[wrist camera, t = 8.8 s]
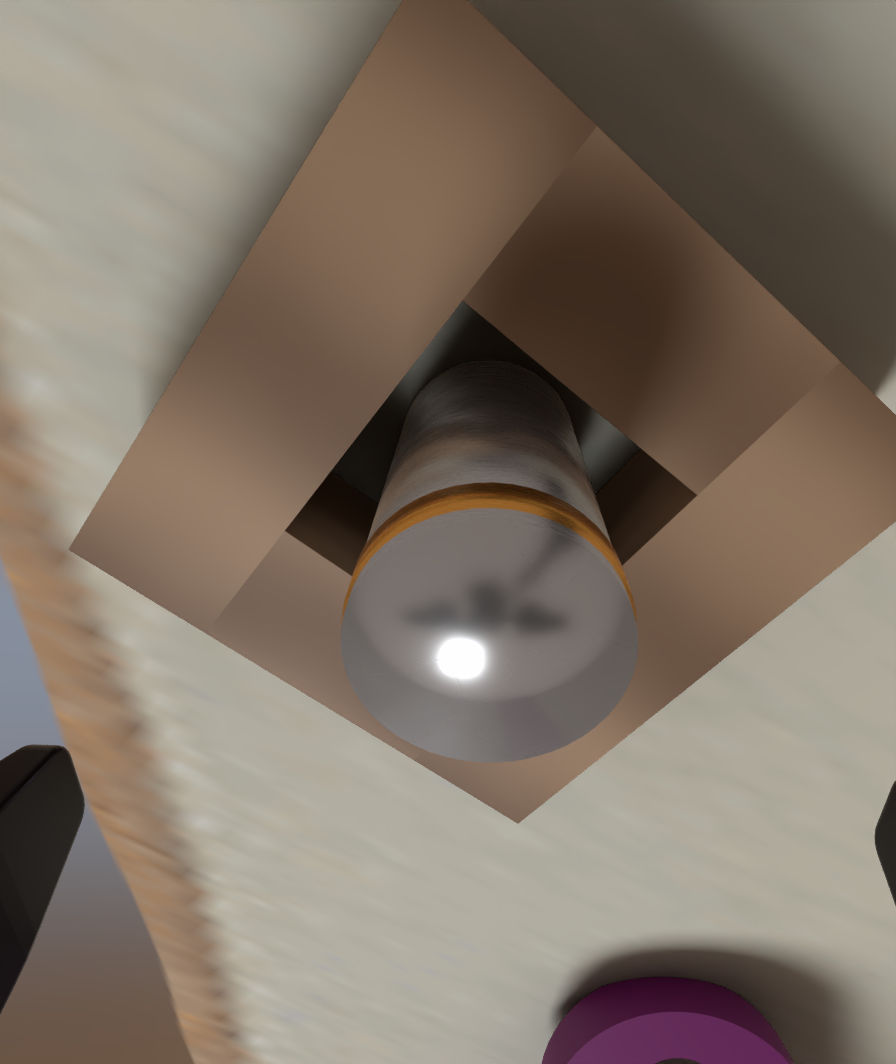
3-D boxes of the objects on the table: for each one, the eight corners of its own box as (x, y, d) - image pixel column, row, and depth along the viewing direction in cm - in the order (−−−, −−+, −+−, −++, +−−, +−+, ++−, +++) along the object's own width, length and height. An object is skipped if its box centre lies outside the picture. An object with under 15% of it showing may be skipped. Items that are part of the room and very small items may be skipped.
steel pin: (474, 318, 15) (464, 451, 8) (612, 433, 16) (708, 638, 9) (366, 456, 17) (279, 666, 10) (497, 552, 18) (505, 805, 11)
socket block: (440, 9, 13) (426, -40, 10) (863, 412, 16) (956, 473, 13) (141, 481, 18) (68, 549, 14) (513, 723, 21) (518, 823, 17)
